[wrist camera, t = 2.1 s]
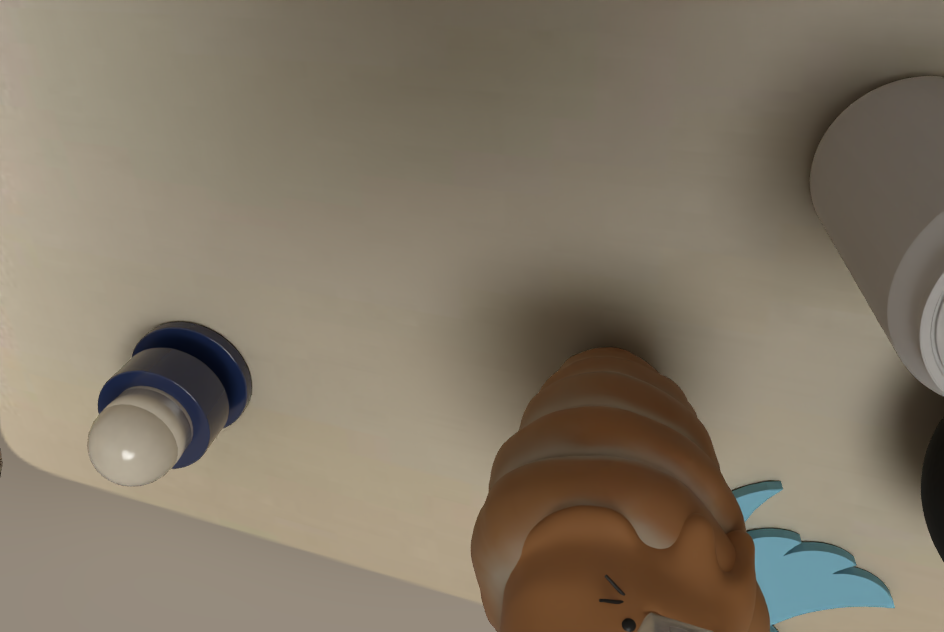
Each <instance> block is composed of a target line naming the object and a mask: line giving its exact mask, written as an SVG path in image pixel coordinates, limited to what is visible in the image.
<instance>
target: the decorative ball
mask: <svg viewBox="0 0 944 632" xmlns="http://www.w3.org/2000/svg"><path fill="white" fill-rule="evenodd" d="M921 499H922V506H923V512H924V517H925V521H926V524H927V527H928V530H929V533H930V536H931V538H932V541H933V543H934V545H935V547H936V549H937V551H938V553H939V555H940V556H941V558H942V560H943V562H944V417H943V419H942V420H941V422H940V423H939V425H938V426H937V428H936V430H935V432H934V434H933V436H932V438H931V440H930V443H929V445H928V448H927V451H926V454H925V458H924V463H923V468H922V477H921Z"/></svg>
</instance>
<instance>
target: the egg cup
mask: <svg viewBox="0 0 944 632" xmlns="http://www.w3.org/2000/svg"><path fill="white" fill-rule="evenodd" d="M251 389H252V385H251V377H250V373H249V370H248V368H247V365H246V363H245V361H244V359H243V358H242V356H241V355H240V353H239V352H238V351H237V350H236V349H235V347H234V346H233V345H232V344H231V343H230V342H228V341H227V340H226V339H225V338H223V337H222V336H221V335H219V334H218V333H216V332H214V331H212V330H210V329H208V328H206V327H203V326H201V325H197V324H193V323H188V322H171V323H166V324H162V325H160V326H157V327H155V328H154V329H152V330H151V331H149V332H148V333H147V334H146V335H145V336H144V337H143V338H142V339H141V340H140V341H139V342H138V344H137V345H136V347H135V349H134V351H133V354H132V358H131V359H130V360H129V361H128V362H127V363H126V364H125V365H124V366H123V367H122V368H121V369H120V370H119V371H117V372H116V373H115V374H114V375H113V376H112V377H111V378H110V379H109V380H108V381H107V382H106V383H105V385H104V386H103V388H102V390H101V391H100V395H99V398H98V413H99V415H98V417H97V418H96V419H95V420H94V422H93V424H92V426H91V429H90V431H89V434H88V442H87V448H88V453H89V457H90V460H91V462H92V464H93V466H94V467H95V469H96V470H97V471H98V472H99V473H100V474H101V475H102V476H103V477H105V478H106V479H107V480H109V481H111V482H113V483H116V484H118V485H122V486H142V485H146V484H149V483H152V482H154V481H156V480H158V479H159V478H161V477H163V476H164V475H165V474H166V473H167V472H168V471H169V470H171V469H177V468H182V467H186V466H189V465H191V464H193V463H195V462H196V461H197V460H199V459H200V458H201V457H202V456H203V455H204V453H205V452H206V451H207V449H208V448H209V447H210V445H211V444H212V442H213V441H214V440H215V438H216V437H217V436H218V434H219V433H220V432H221V430H222V429H223V428H225V427H227V426H229V425H231V424H232V423H234V422H235V421H236V420H237V419H238V418H239V417H240V416H241V414H242V413H243V411H244V410H245V408H246V407H247V405H248V403H249V400H250V397H251Z"/></svg>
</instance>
